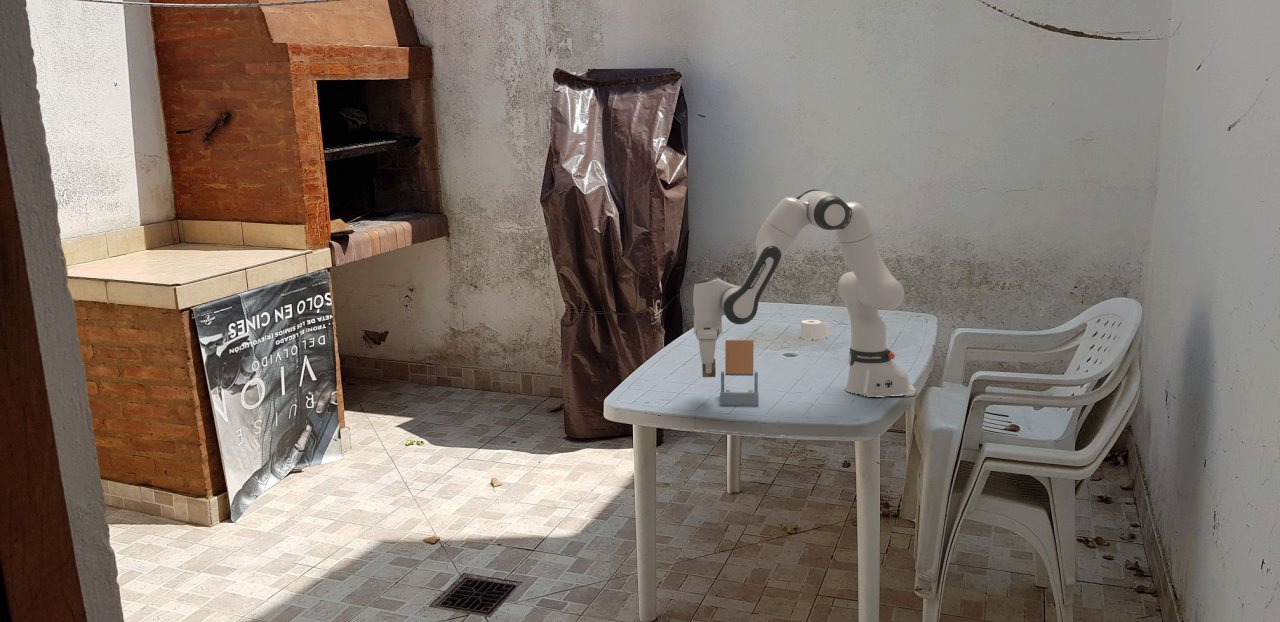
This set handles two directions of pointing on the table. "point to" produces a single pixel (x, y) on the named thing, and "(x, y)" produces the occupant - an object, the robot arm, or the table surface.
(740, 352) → the lid
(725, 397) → the housing base
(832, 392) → the table surface
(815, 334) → the toilet paper
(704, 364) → the block
